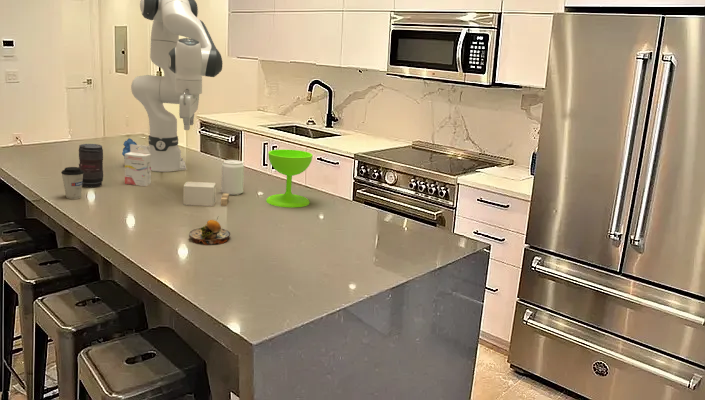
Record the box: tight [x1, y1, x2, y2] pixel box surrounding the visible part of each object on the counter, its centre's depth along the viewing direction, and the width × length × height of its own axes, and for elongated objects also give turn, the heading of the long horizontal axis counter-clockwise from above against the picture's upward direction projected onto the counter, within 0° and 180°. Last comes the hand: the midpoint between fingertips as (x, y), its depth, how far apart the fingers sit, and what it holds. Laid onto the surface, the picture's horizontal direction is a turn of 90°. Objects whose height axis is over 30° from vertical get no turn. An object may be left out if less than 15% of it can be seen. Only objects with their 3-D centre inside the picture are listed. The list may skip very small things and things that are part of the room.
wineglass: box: [265, 148, 313, 209], centre depth 218 cm, size 16×16×18 cm
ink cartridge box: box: [124, 144, 152, 187], centre depth 226 cm, size 9×5×15 cm, turn 84°
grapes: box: [121, 138, 138, 160], centre depth 253 cm, size 12×7×12 cm, turn 49°
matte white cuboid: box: [183, 181, 217, 207], centre depth 208 cm, size 7×10×7 cm
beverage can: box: [220, 159, 245, 196], centre depth 224 cm, size 8×8×12 cm
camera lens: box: [78, 143, 104, 188], centre depth 219 cm, size 8×8×15 cm
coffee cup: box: [61, 166, 84, 200], centre depth 203 cm, size 7×7×10 cm
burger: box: [188, 217, 231, 246], centre depth 173 cm, size 12×12×8 cm
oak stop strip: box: [220, 192, 230, 207], centre depth 211 cm, size 8×2×2 cm, turn 6°
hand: (188, 127), depth 210 cm, fingers open, 8 cm apart
